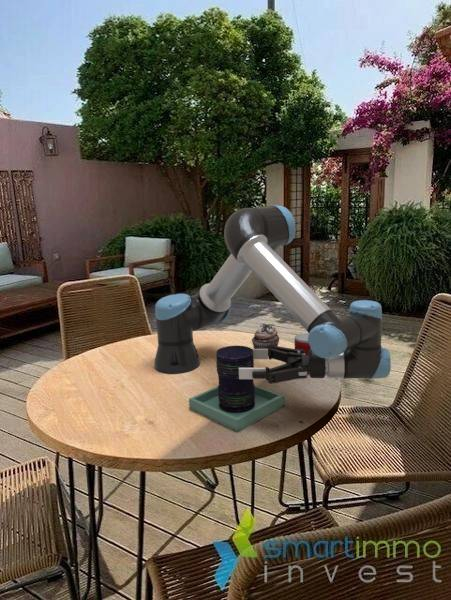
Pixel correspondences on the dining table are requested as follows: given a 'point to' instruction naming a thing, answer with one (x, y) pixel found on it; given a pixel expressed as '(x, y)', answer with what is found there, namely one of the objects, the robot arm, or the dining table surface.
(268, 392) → the tray
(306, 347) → the canned food
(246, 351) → the dark blue ribbed cylinder
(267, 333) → the cupcake
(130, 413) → the dining table surface
